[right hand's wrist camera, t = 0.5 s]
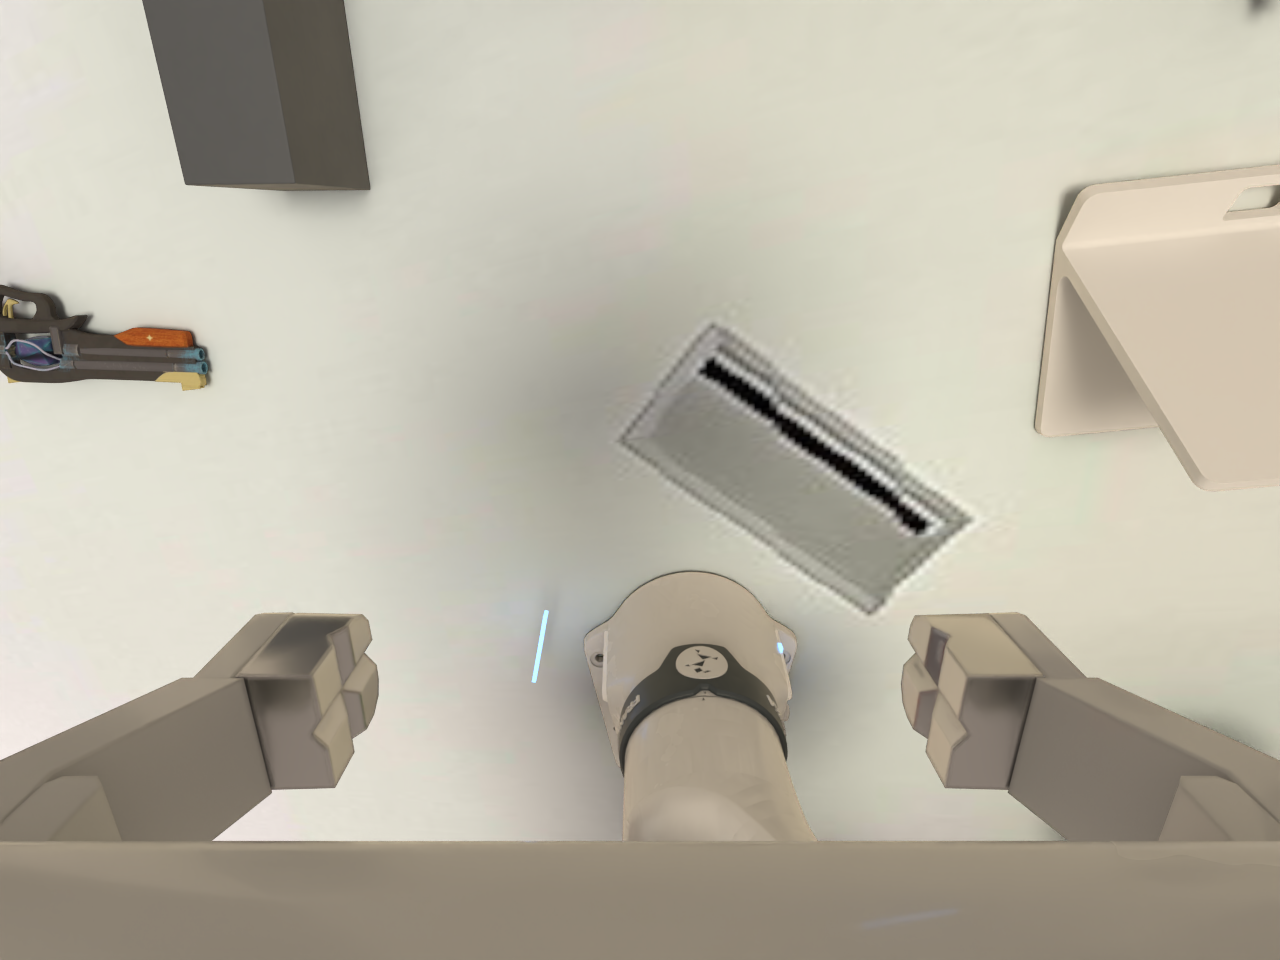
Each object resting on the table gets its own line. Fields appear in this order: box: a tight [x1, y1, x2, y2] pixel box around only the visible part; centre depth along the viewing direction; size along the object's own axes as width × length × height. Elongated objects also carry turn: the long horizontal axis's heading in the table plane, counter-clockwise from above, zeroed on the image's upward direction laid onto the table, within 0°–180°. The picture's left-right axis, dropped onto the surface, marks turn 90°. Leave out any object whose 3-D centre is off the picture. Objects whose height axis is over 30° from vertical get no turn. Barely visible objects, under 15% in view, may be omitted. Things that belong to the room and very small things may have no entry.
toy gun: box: [0, 285, 208, 391], centre depth 49 cm, size 3×19×10 cm
